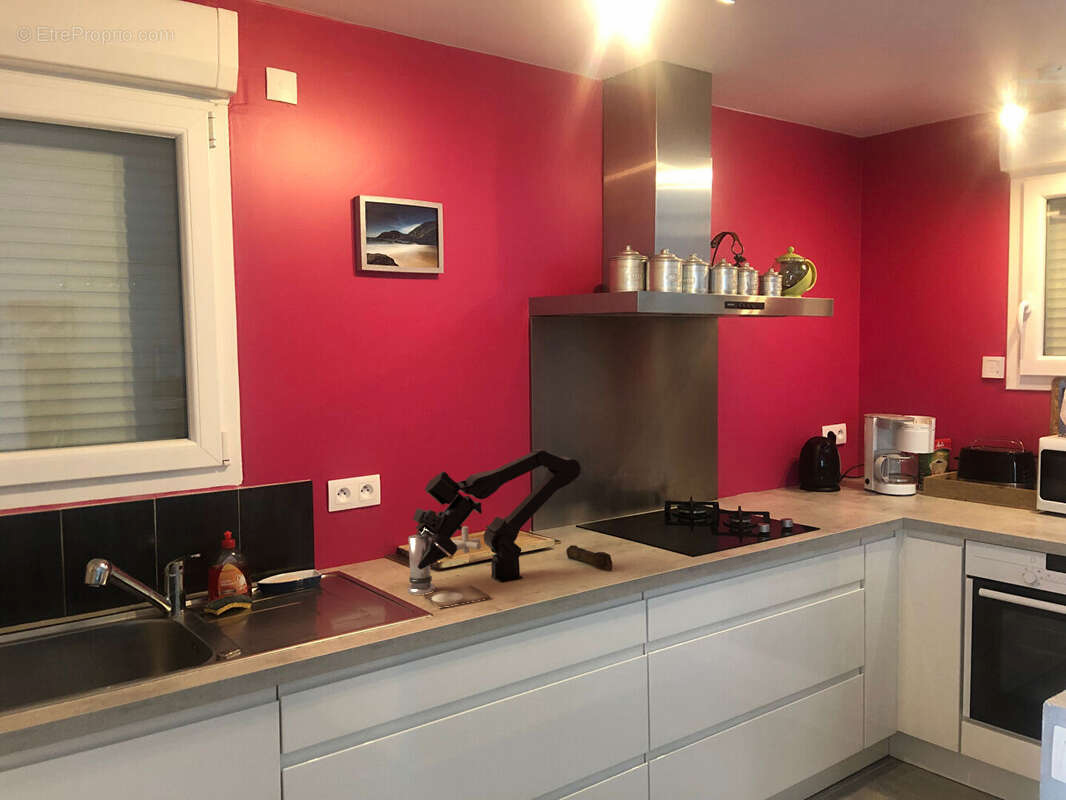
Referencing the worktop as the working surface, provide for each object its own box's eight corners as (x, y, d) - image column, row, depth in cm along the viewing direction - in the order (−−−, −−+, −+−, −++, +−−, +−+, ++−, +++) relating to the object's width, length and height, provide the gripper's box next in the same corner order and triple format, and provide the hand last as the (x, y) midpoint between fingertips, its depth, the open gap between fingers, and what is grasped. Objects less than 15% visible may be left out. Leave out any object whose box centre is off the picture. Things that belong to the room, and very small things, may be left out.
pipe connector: (466, 555, 251) (464, 521, 250) (491, 560, 244) (489, 525, 244) (441, 563, 243) (439, 528, 242) (467, 568, 237) (465, 532, 236)
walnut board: (471, 588, 217) (471, 585, 217) (490, 599, 207) (490, 595, 207) (423, 597, 211) (423, 594, 211) (439, 609, 201) (439, 605, 201)
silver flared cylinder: (429, 586, 221) (426, 532, 220) (438, 592, 215) (435, 537, 214) (404, 590, 218) (400, 536, 217) (413, 597, 212) (410, 541, 211)
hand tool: (565, 559, 242) (565, 543, 242) (578, 557, 244) (577, 541, 244) (602, 574, 225) (602, 557, 225) (615, 572, 227) (614, 554, 227)
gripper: (421, 491, 225) (382, 538, 221) (442, 502, 208) (399, 553, 204) (451, 517, 228) (413, 563, 225) (474, 530, 211) (433, 580, 208)
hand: (414, 564), depth 215 cm, fingers open, 8 cm apart
